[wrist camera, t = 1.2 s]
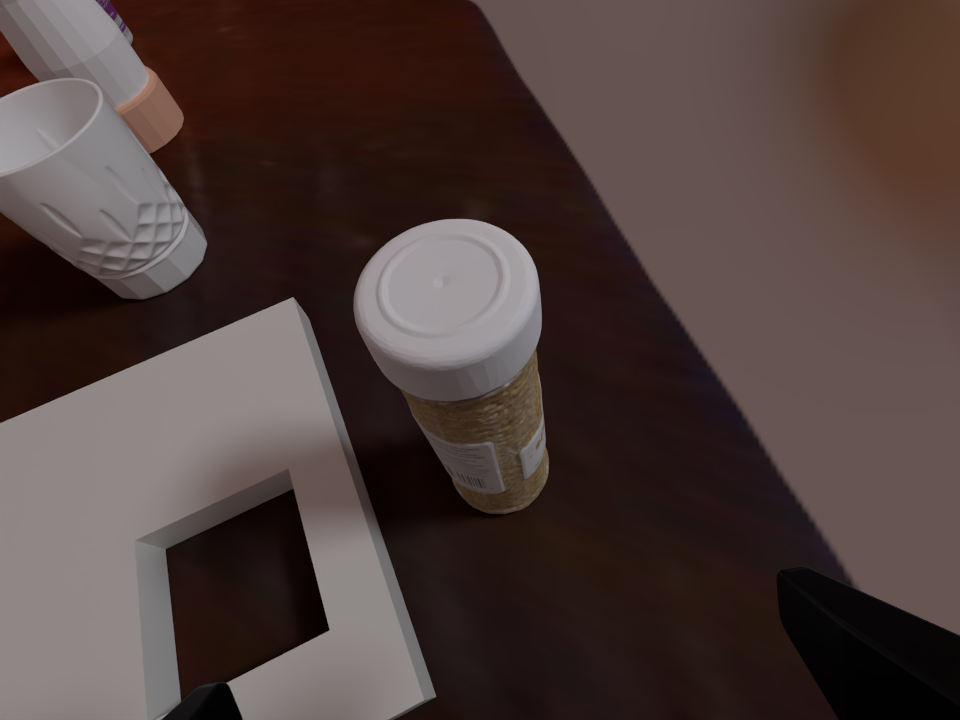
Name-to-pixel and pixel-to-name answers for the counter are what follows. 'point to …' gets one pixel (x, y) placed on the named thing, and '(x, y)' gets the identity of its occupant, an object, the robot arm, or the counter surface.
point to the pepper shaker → (91, 61)
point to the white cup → (93, 190)
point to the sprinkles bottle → (463, 352)
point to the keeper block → (191, 533)
